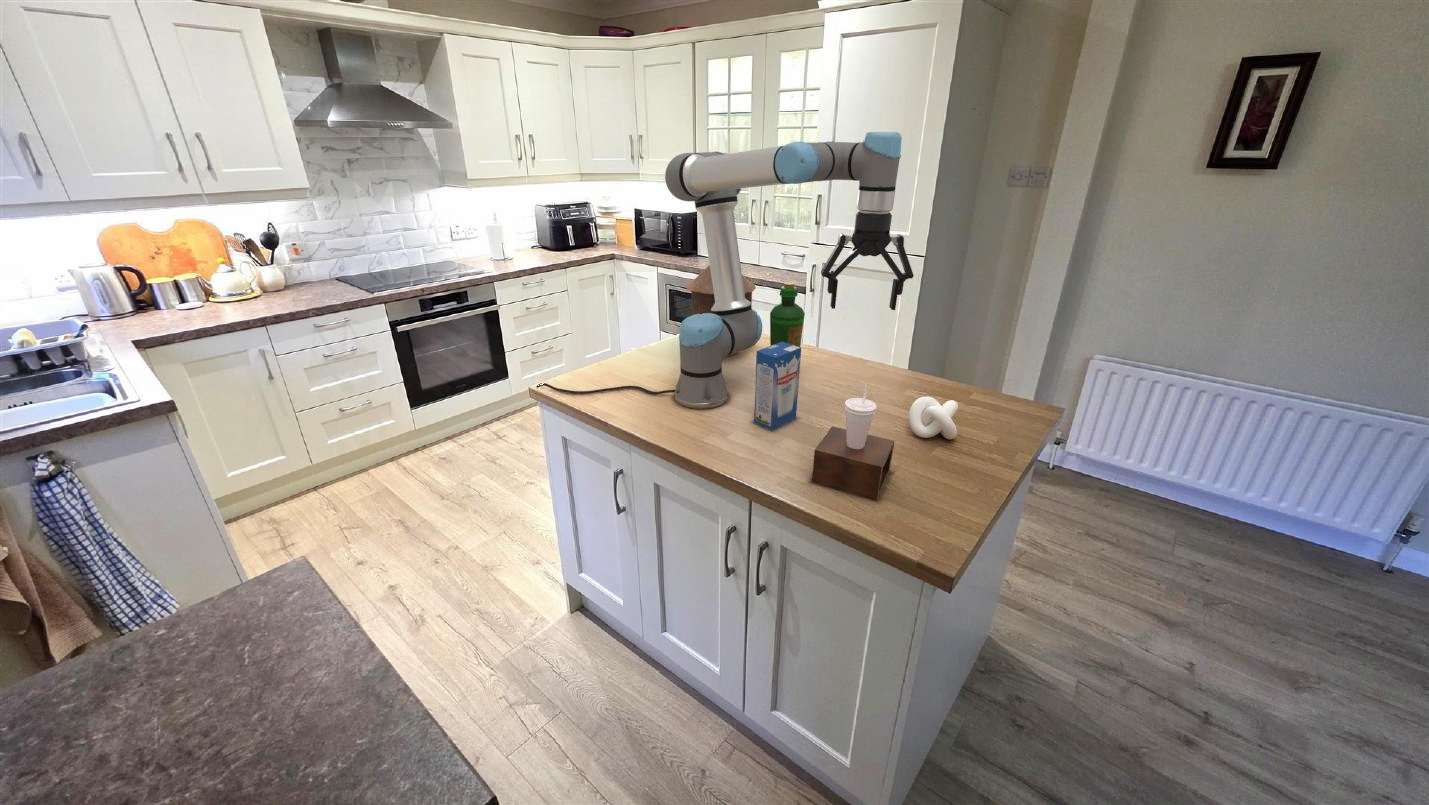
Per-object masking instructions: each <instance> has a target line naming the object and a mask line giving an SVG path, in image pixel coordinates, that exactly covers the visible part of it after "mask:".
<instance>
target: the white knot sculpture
mask: <svg viewBox="0 0 1429 805" xmlns="http://www.w3.org/2000/svg"><path fill="white" fill-rule="evenodd" d="M958 409H959V404H958V402H957V401H956V400H951V399H950V400H948V401H947V400H946V401H945V403H943V404H942V405H941V403H940V402H939V401H938V400H937V399H935V397H932V396H921V397H919V398H917V399H916V400H915V401H914V402H913V403H912V405H911V406H910V409H909V411H908V424H909V426H910V429H911V431H912V433H914V434H915V435H916V436H918V437H920V438H924V439H928V438H929V439H930V438H933V437H935V436H937V435H938V434H941V436H942V437H943V438H945V439H946V440H953V439H955V438H956V437H957V435H958V429H957V427H956V424H955V423H954V422H955V421H953V419H952V418H953V417H954V415H955V414H956V412H957V411H958Z"/></svg>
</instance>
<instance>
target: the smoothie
mask: <svg viewBox="0 0 1429 805" xmlns="http://www.w3.org/2000/svg"><path fill="white" fill-rule="evenodd" d="M867 393H868V384H864V388H863V396H862V397H852V398H849V399H847V400H845V402H844V406H843V407H844V409H845V429H846V439H847V446H848V447H850V448H852V449H862V448H864V446H865V442H866V439H867V435H869V432H870V429H871V424H872V422H873V418H874V414H875V413H876V412H877V406H878V405H877V404H876V402H875V401H873V400H870V399H867Z"/></svg>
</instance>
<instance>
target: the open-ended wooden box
mask: <svg viewBox="0 0 1429 805" xmlns="http://www.w3.org/2000/svg"><path fill="white" fill-rule="evenodd" d="M894 446H895V440H893V439H890V438H885V437H881V436H876V435H872V434H868V435H867V439H866V442H865V446H864V448H862V449H852V448H850V447H848V446H847V439H846V428H842V427H837V426H833V425H831V426H830V428H829V429H828V431H827V432H826V433H825V435H824V436H823V438H822V439H821V440H820V442H819V443H818V445H817V446H816V447H815V449H814V454H813V464H812V473H811V474H812V475H811V483H813V484H816V485H820V486H823V487H827V488H831V489H834V490H837V491H841V492H844V493H848V494H852V495H855V496H859V497H863V498H866V499H870V500H872V501H878V498H879V496H880V494H881V492H882V490H883V488H884V486H885V483H886V481H887V479H888V476H889V475H890V470H891V466H892V458H893V452H894Z"/></svg>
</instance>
